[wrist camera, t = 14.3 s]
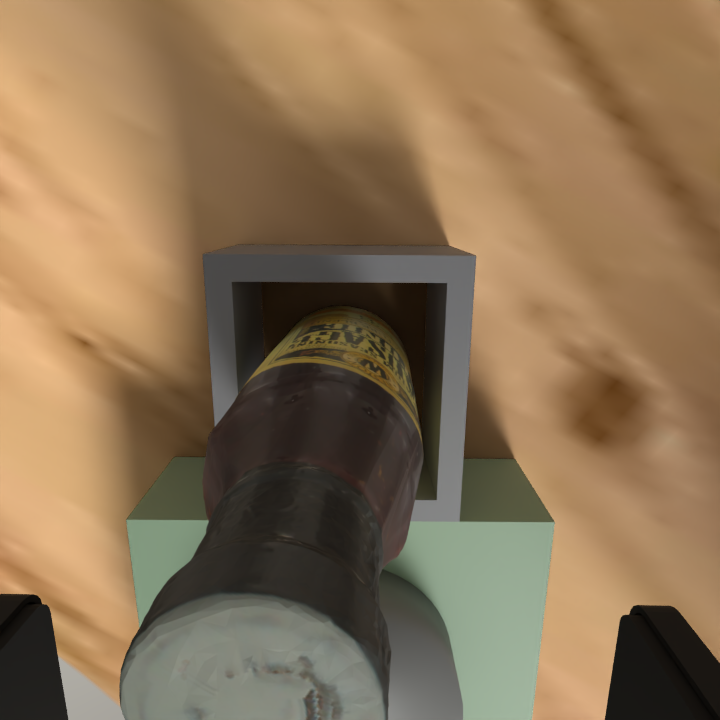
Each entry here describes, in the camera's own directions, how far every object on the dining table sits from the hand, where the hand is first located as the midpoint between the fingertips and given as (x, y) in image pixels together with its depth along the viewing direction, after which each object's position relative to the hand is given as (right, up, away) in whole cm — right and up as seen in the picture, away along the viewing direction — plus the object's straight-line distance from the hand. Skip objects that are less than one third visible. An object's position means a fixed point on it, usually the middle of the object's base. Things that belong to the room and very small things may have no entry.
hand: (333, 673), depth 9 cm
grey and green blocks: (0, -1, +20) cm, 20 cm away
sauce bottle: (-1, +5, +18) cm, 19 cm away
